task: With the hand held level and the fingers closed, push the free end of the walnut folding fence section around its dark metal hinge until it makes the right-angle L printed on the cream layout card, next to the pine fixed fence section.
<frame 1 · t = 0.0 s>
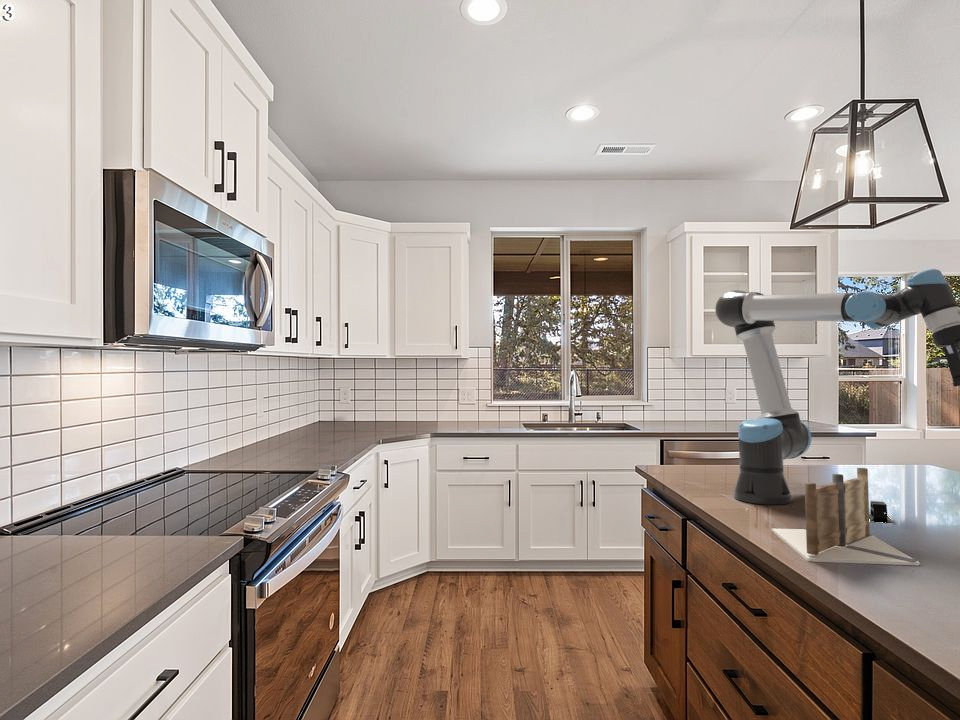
fixed fence section: (840, 547, 122), resting on layout card
folding fence section: (822, 514, 118), point 8 cm above the table, hinge at 0.0°
layout card: (838, 546, 123), on the table
black blocky piece: (879, 521, 145), on the table
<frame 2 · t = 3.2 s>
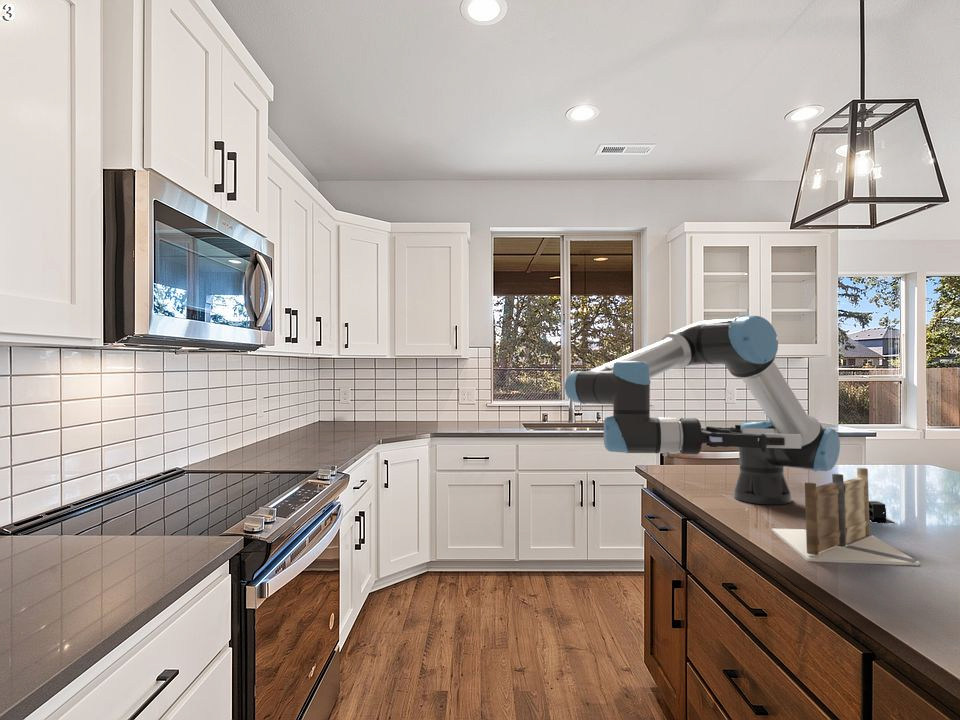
hand: (786, 438, 117), 24 cm above the table, tool horizontal, fingers open, 13 cm apart
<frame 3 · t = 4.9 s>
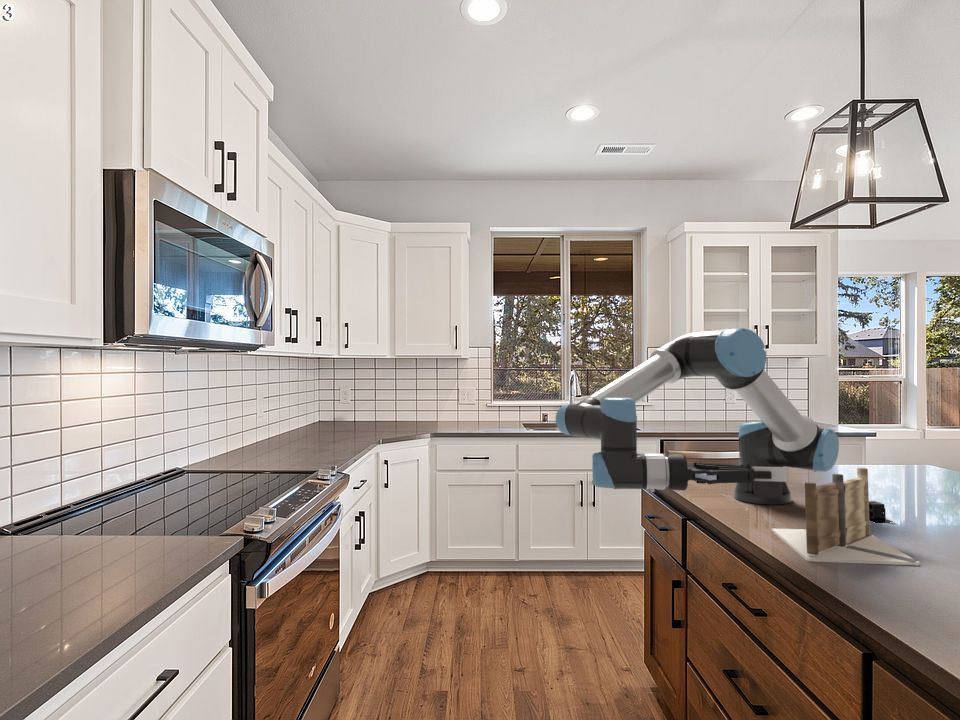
hand: (786, 474, 116), 17 cm above the table, tool horizontal, fingers closed
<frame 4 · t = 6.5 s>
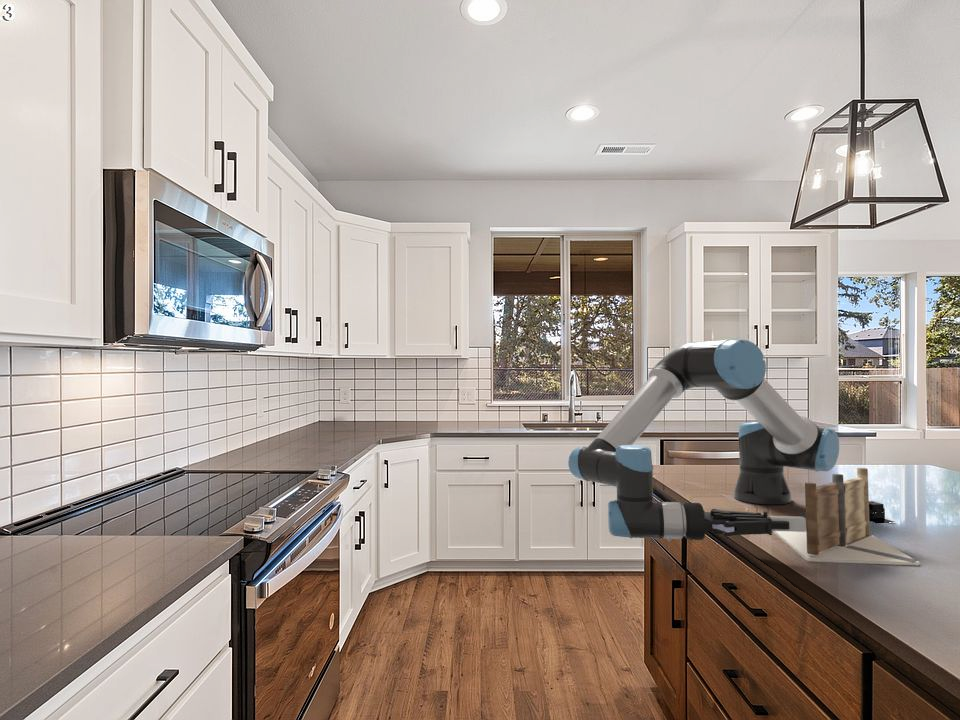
hand: (804, 524, 116), 7 cm above the table, tool horizontal, fingers closed
folding fence section: (822, 514, 118), point 8 cm above the table, hinge at 0.2°, touching gripper
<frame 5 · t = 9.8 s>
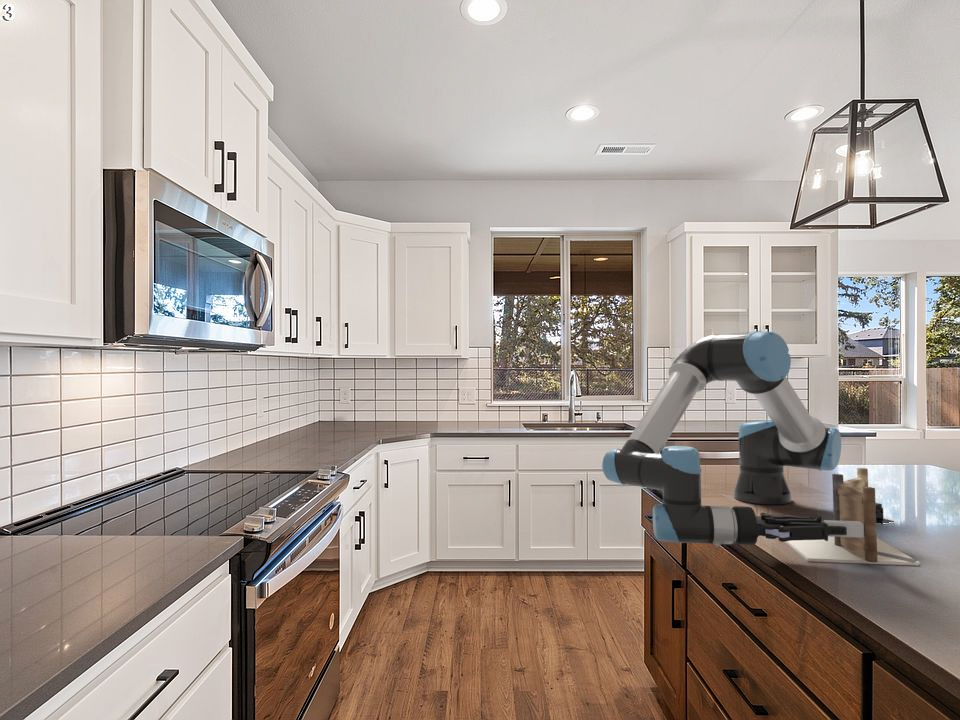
hand: (861, 529, 111), 7 cm above the table, tool horizontal, fingers closed
folding fence section: (857, 518, 115), point 8 cm above the table, hinge at 48.2°, touching gripper
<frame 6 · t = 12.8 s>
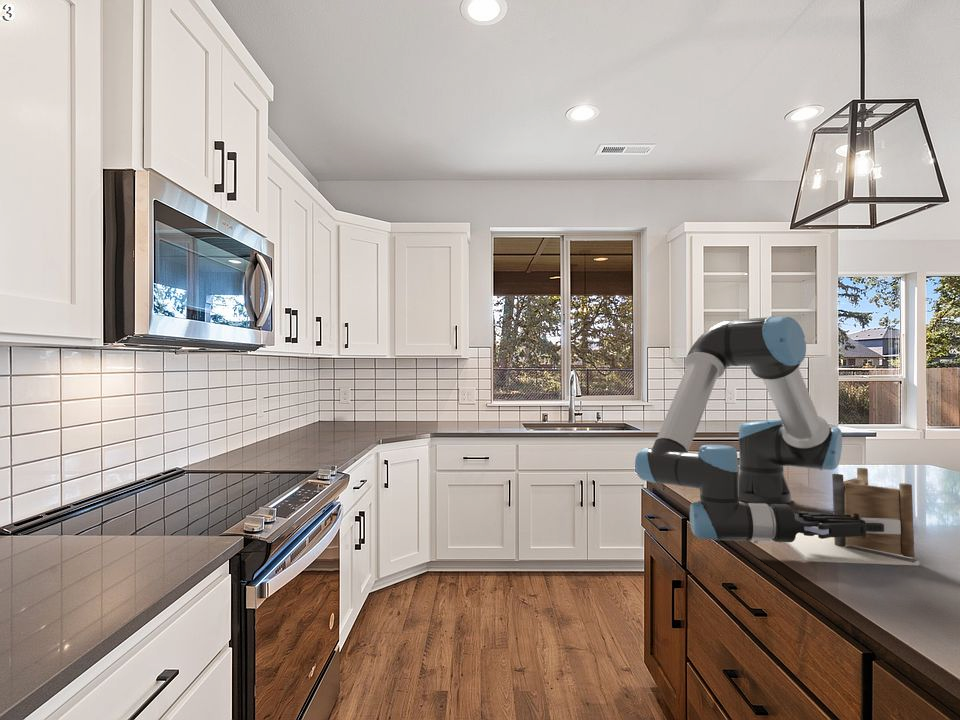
hand: (898, 526, 112), 7 cm above the table, tool horizontal, fingers closed
folding fence section: (878, 515, 116), point 8 cm above the table, hinge at 94.5°, touching gripper
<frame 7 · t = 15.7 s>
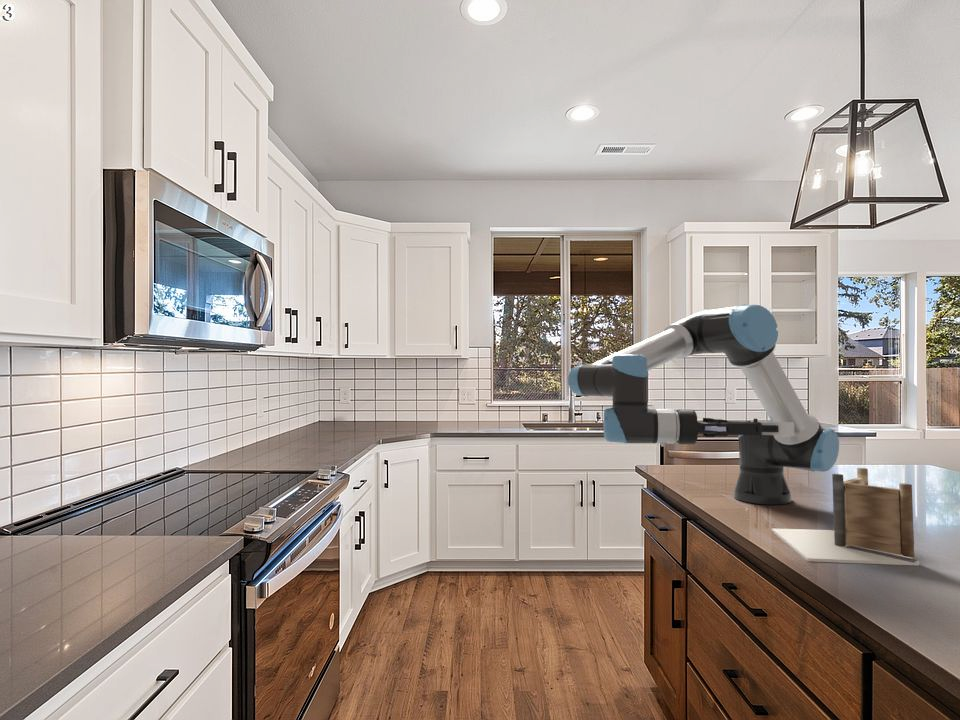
hand: (792, 428, 120), 26 cm above the table, tool horizontal, fingers closed
folding fence section: (878, 515, 116), point 8 cm above the table, hinge at 94.5°
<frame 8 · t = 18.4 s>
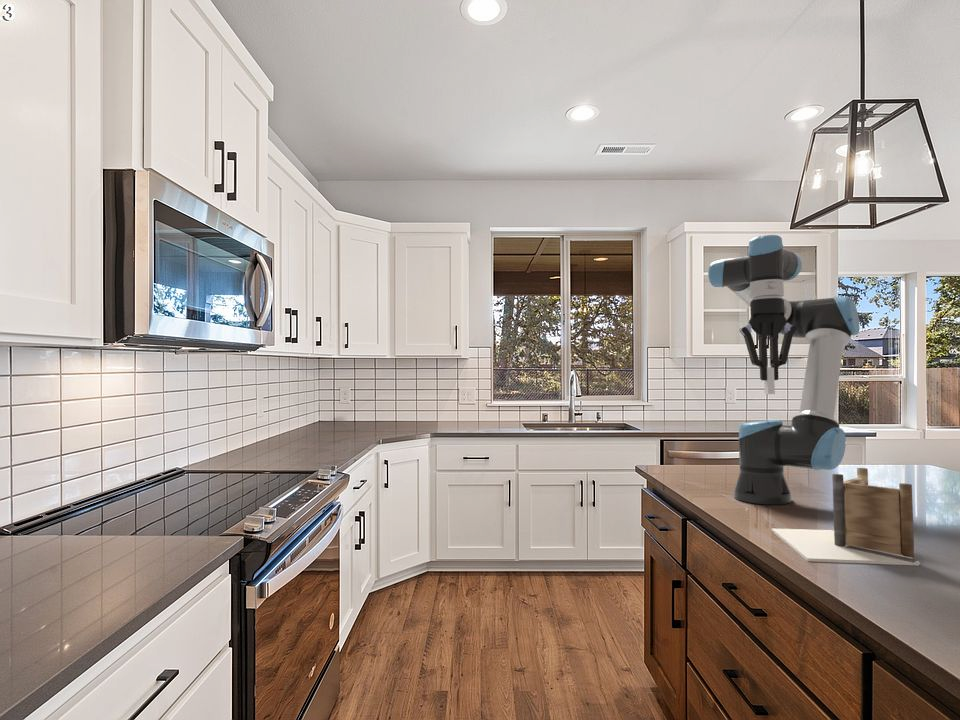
hand: (769, 393, 141), 32 cm above the table, tool pointing down, fingers closed
at the end: folding fence section at +94° (first picture: +0°) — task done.
